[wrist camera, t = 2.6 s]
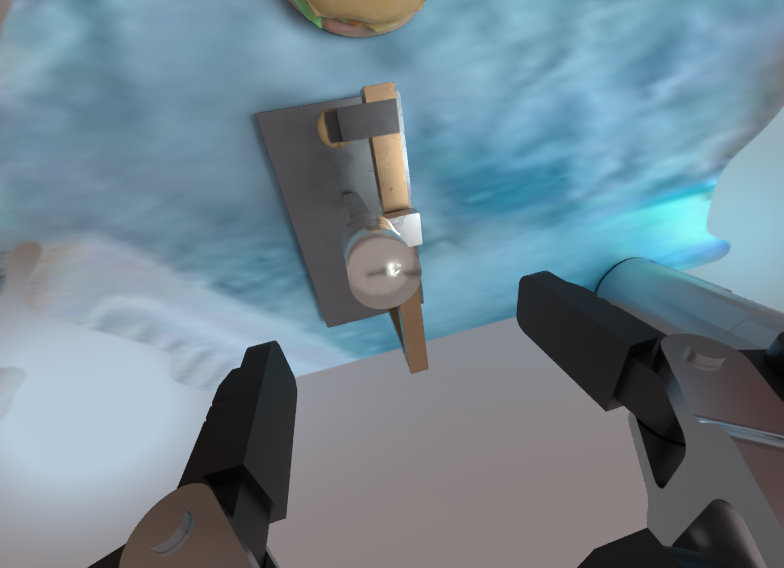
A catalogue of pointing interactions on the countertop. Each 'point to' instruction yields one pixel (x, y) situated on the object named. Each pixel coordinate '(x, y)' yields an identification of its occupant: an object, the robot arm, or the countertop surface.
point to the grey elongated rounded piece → (381, 254)
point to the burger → (358, 15)
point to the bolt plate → (340, 177)
